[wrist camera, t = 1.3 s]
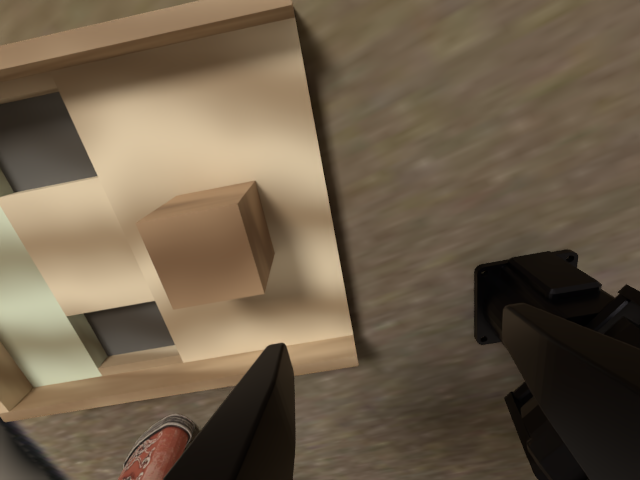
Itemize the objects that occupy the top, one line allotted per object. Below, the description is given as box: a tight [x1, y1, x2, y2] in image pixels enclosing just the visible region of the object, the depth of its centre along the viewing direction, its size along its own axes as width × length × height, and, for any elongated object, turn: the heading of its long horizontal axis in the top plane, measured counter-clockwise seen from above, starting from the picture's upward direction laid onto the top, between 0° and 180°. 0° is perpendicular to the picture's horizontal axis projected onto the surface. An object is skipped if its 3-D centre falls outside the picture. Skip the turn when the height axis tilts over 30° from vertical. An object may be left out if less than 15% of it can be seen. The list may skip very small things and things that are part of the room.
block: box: [135, 181, 275, 310], centre depth 17 cm, size 4×4×4 cm
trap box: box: [0, 0, 359, 422], centre depth 19 cm, size 20×24×4 cm
